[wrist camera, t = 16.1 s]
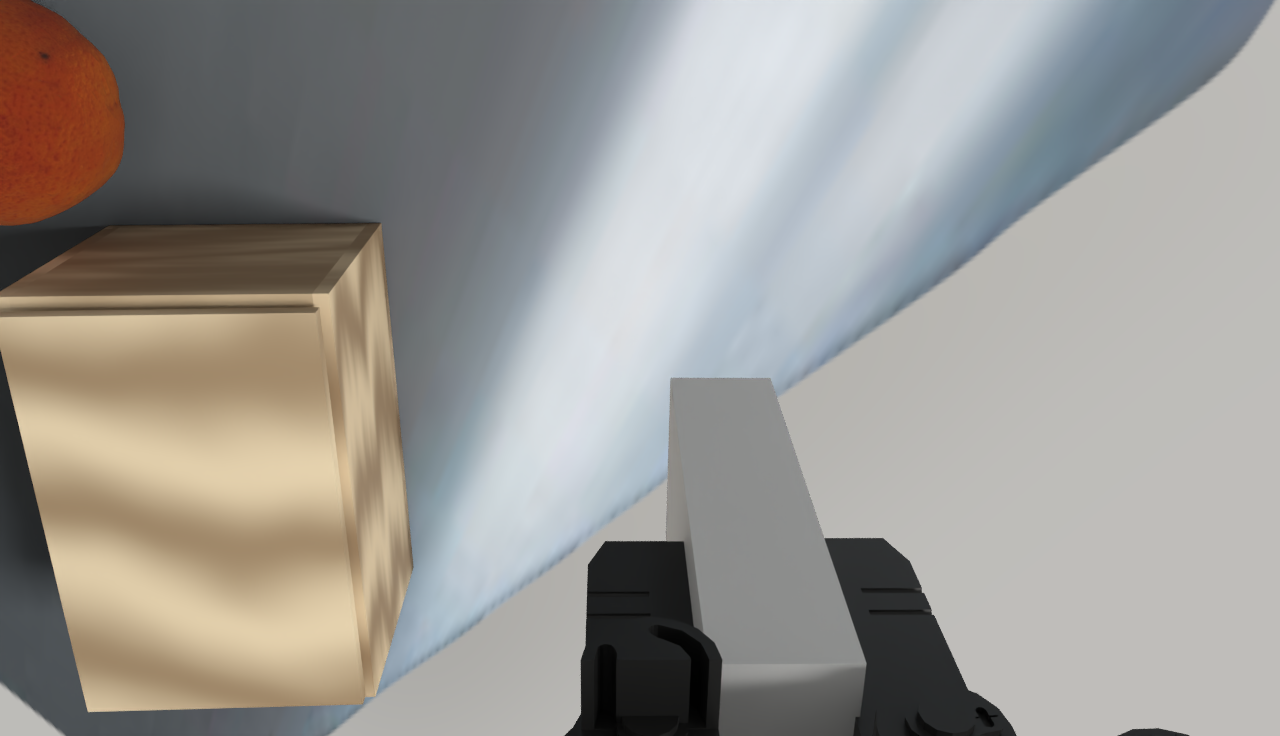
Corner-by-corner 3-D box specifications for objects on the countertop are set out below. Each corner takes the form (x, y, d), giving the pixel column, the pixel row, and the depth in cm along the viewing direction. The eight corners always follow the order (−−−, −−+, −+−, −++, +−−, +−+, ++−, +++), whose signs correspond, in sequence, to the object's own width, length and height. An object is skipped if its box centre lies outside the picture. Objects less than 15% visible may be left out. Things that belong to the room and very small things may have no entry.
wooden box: (109, 225, 48) (-10, 297, 39) (381, 223, 48) (329, 293, 39) (175, 571, 55) (88, 703, 45) (413, 567, 55) (375, 696, 46)
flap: (1, 311, 38) (-8, 317, 38) (319, 307, 39) (315, 312, 38) (94, 702, 45) (87, 711, 44) (365, 694, 45) (362, 704, 45)
